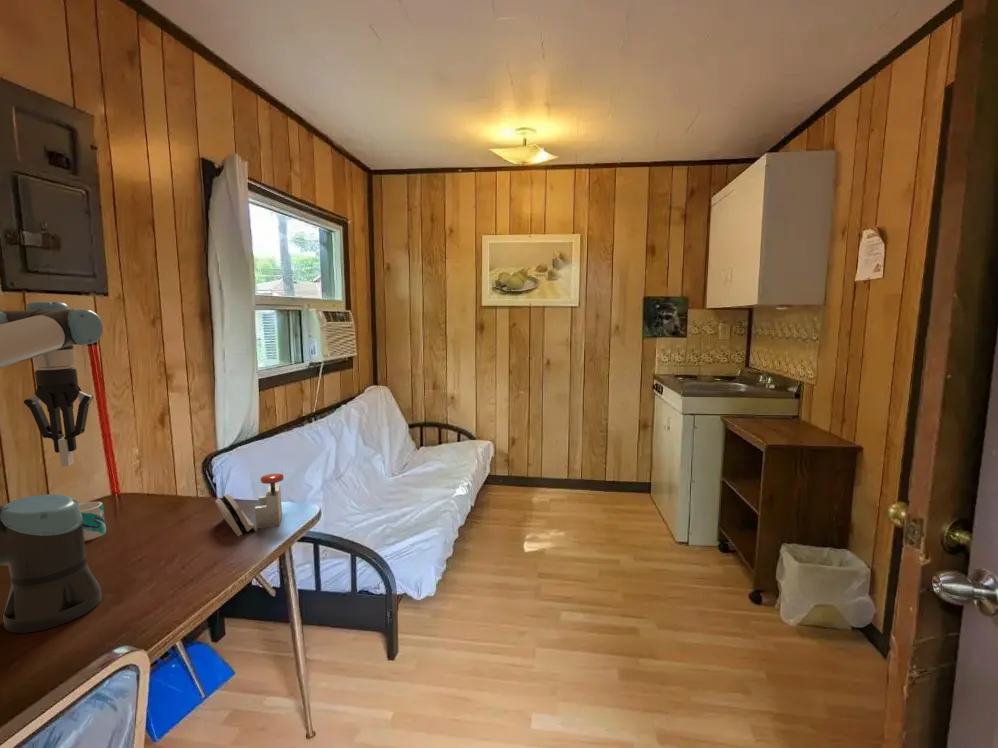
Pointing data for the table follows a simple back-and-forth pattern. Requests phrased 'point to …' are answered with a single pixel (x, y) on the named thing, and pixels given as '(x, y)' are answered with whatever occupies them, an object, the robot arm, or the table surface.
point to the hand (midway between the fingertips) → (67, 464)
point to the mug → (92, 519)
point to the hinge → (234, 515)
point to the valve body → (269, 503)
